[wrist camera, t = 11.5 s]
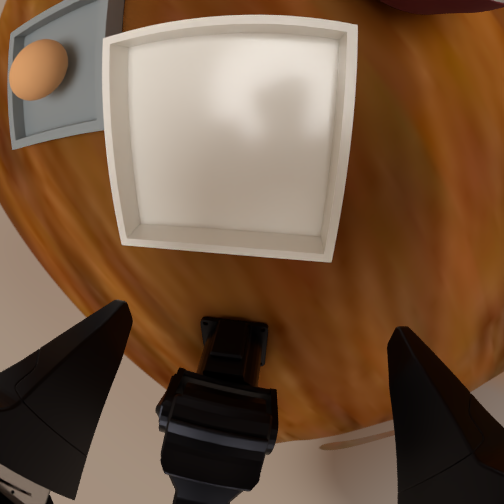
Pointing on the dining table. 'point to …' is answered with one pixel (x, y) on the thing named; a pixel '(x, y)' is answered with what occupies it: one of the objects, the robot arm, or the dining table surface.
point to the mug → (444, 6)
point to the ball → (38, 69)
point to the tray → (77, 75)
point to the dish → (231, 133)
